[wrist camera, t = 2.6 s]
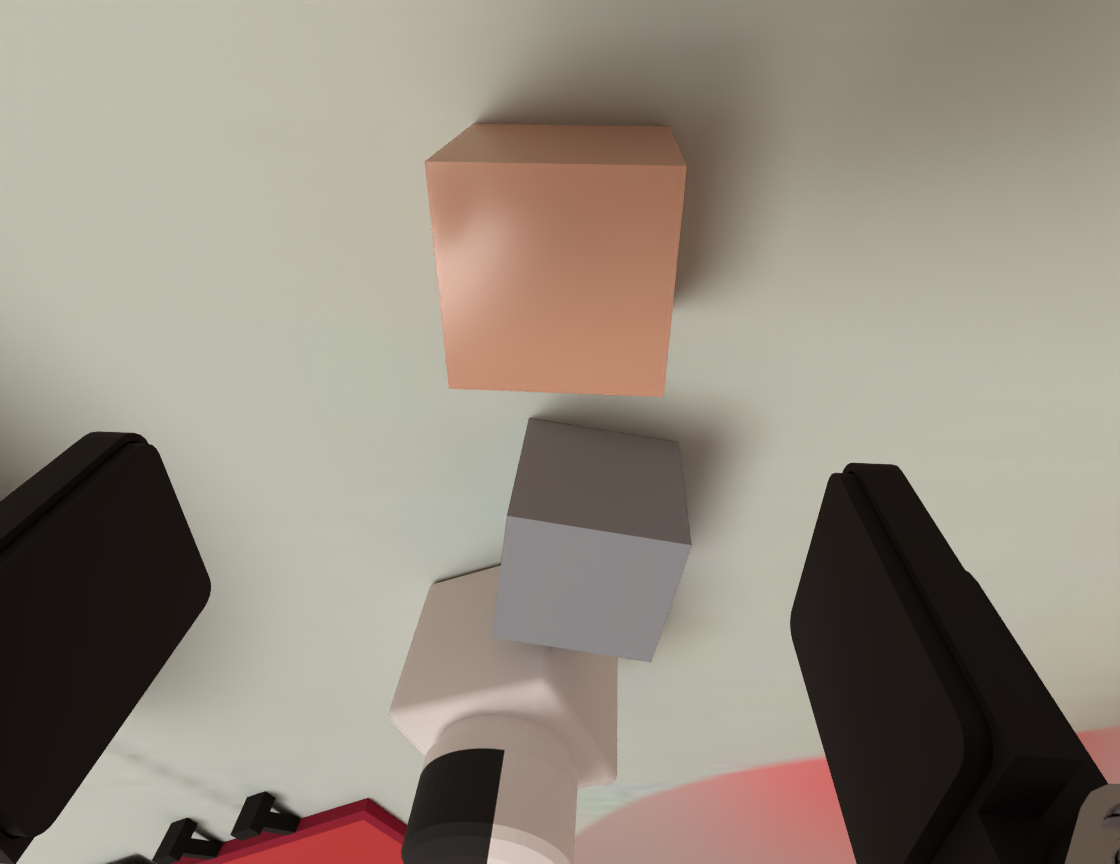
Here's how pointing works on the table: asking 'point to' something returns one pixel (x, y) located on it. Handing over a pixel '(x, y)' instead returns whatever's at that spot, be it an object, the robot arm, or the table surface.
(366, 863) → the red board with handle
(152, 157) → the table surface
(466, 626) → the medicine bottle
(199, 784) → the table surface
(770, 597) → the table surface
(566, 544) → the slate cube
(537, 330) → the terracotta cube
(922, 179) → the table surface
